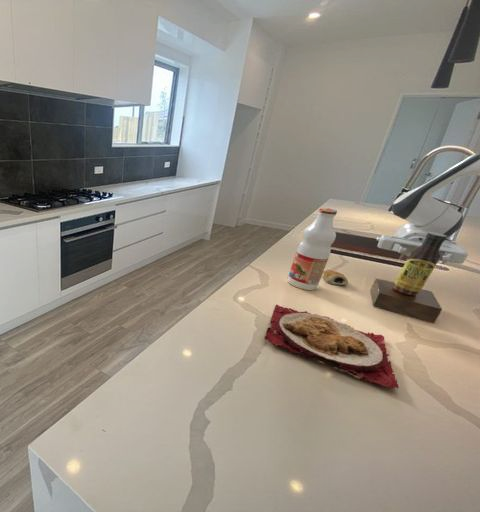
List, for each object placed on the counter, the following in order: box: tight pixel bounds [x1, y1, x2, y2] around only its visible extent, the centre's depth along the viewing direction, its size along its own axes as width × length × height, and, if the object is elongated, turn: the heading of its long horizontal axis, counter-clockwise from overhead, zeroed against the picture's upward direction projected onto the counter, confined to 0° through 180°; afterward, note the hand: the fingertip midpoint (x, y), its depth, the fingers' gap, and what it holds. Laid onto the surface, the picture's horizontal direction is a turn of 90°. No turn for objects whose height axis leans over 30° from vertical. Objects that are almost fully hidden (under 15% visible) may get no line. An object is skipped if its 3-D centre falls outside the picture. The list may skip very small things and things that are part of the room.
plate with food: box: [263, 304, 400, 389], centre depth 78 cm, size 24×26×3 cm
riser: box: [369, 277, 443, 324], centre depth 97 cm, size 14×14×5 cm
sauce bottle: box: [393, 232, 448, 296], centre depth 92 cm, size 7×6×20 cm
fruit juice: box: [287, 207, 338, 291], centre depth 103 cm, size 9×9×28 cm
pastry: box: [322, 269, 349, 286], centre depth 113 cm, size 9×7×4 cm
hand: (423, 255), depth 92 cm, fingers open, 8 cm apart
